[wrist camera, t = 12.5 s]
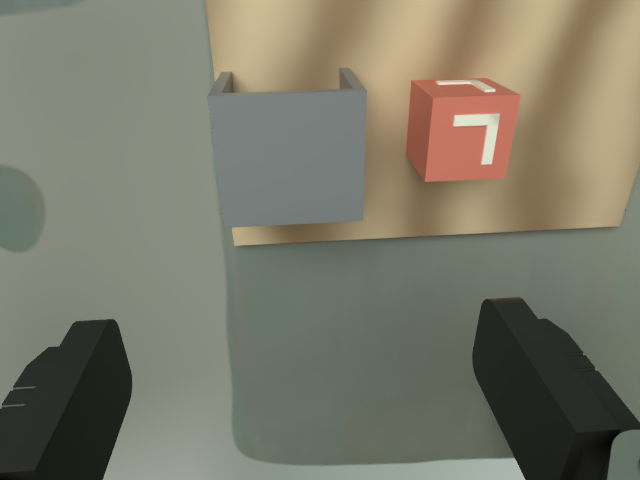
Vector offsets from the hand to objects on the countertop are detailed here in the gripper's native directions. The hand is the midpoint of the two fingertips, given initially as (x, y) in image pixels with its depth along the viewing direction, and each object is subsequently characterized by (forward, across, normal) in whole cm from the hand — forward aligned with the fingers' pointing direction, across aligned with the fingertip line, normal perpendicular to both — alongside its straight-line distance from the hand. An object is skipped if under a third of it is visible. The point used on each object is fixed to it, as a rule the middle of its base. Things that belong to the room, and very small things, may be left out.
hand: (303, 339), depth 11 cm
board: (+18, -8, 0) cm, 20 cm away
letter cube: (+17, -8, 0) cm, 19 cm away
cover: (+17, 0, 0) cm, 17 cm away
